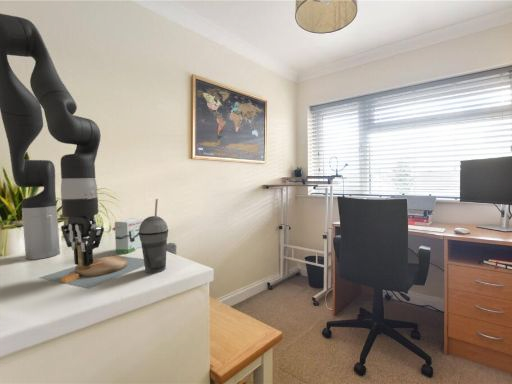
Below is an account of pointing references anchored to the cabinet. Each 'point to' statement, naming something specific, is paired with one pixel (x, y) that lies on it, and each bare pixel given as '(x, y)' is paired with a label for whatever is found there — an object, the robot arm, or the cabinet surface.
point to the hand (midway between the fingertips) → (83, 264)
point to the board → (87, 282)
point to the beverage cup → (154, 242)
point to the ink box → (127, 235)
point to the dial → (99, 265)
